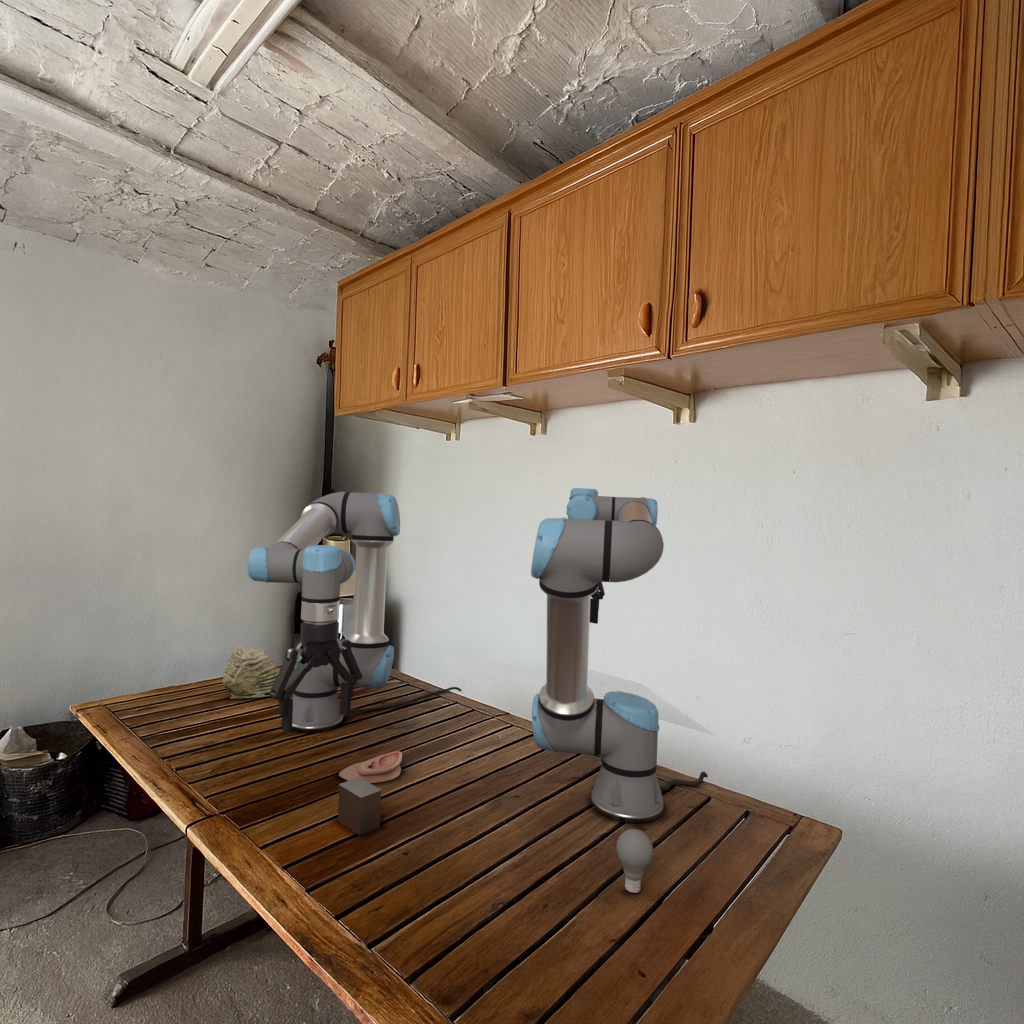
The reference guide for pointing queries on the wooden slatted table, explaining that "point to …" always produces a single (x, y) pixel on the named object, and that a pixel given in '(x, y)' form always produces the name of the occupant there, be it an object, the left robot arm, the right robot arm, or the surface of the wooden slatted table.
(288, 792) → the wooden slatted table surface
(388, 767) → the anatomical model
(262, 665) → the fossil
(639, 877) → the light bulb
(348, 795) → the brick
